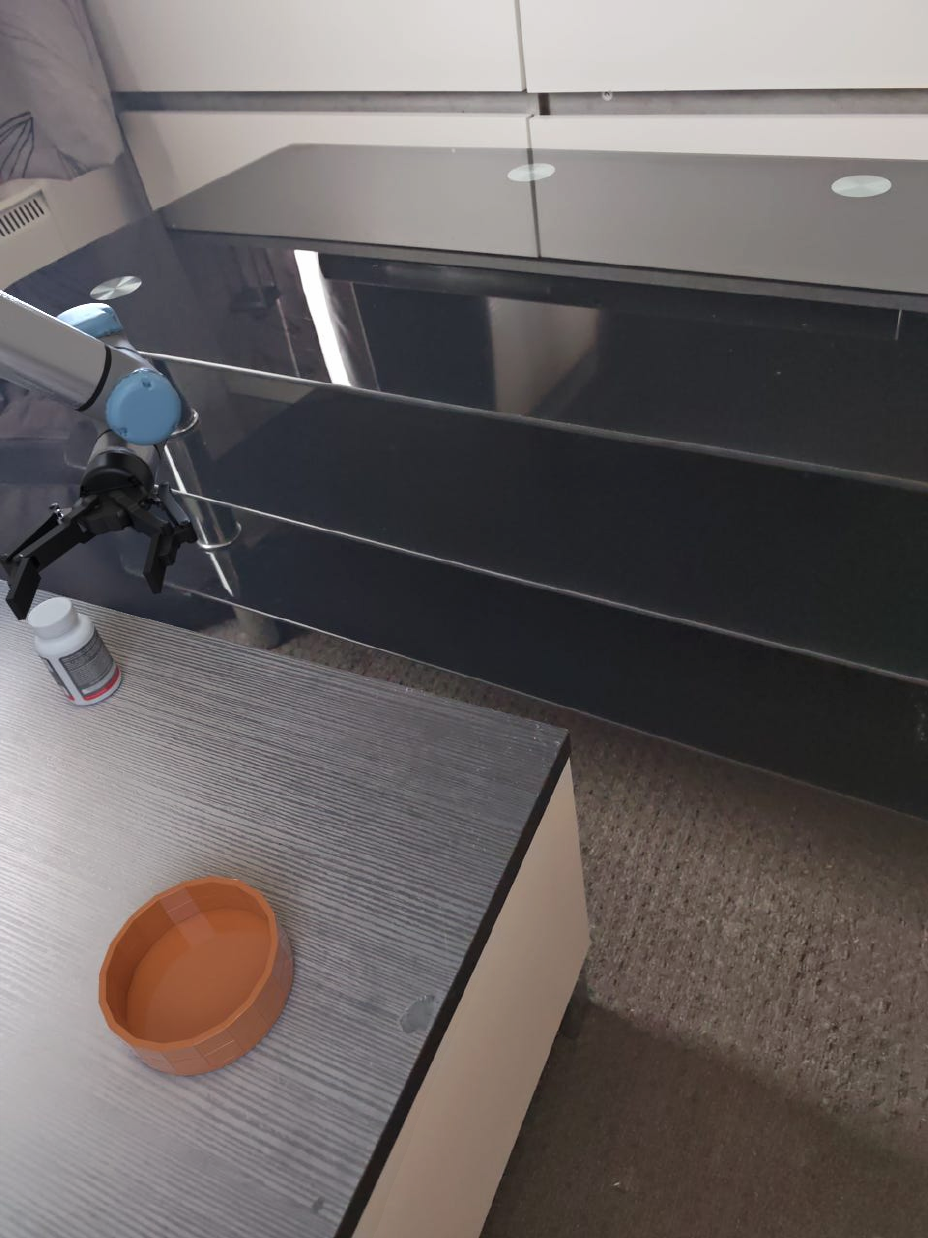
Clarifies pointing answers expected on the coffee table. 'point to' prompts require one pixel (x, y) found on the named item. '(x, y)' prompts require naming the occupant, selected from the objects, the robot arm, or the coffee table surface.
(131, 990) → the orange round bowl
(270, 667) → the coffee table surface
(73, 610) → the pill bottle
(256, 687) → the coffee table surface
